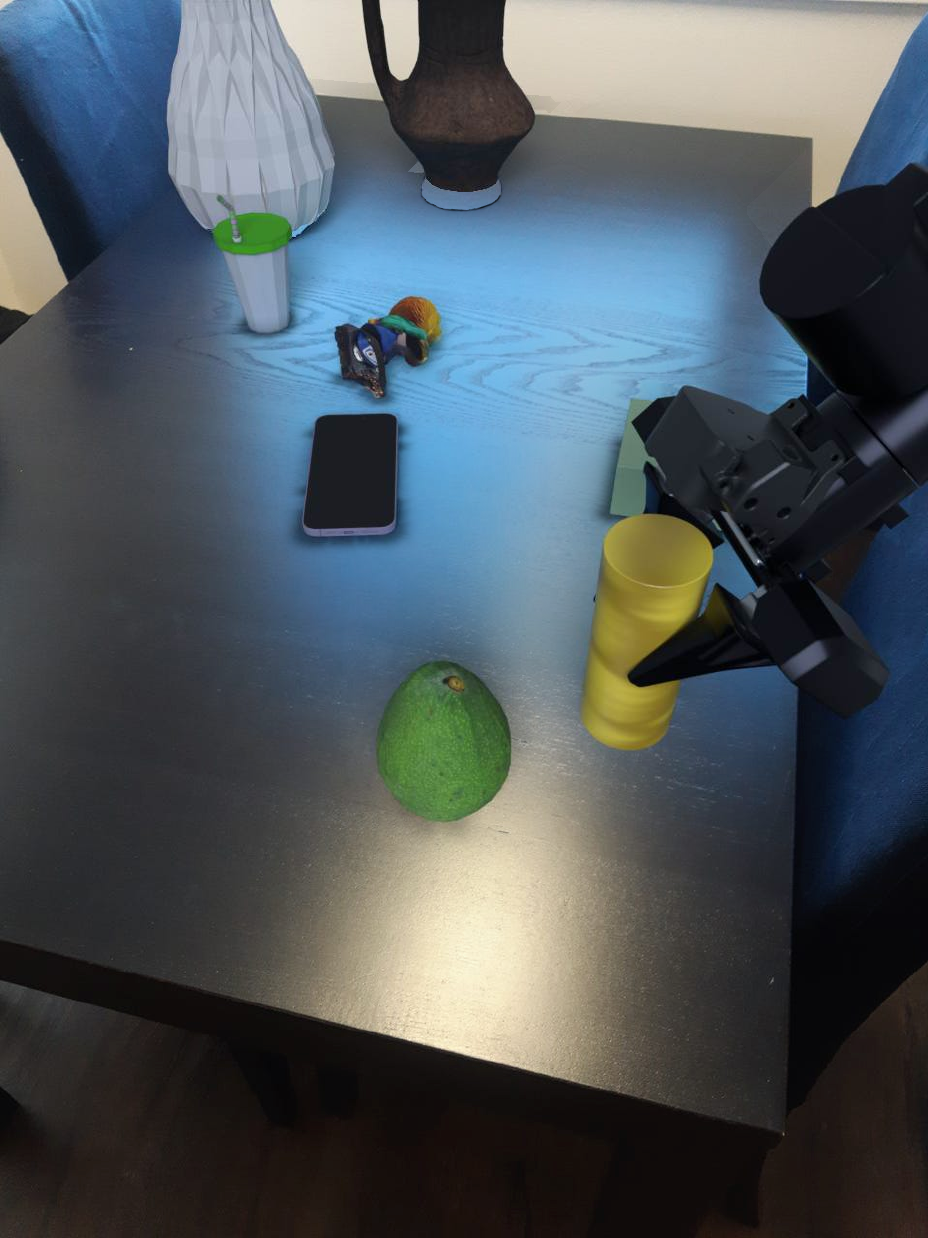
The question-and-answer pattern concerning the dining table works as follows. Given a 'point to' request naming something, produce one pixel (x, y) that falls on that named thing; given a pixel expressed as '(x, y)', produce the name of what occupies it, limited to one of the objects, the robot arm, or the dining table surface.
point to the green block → (632, 468)
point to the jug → (453, 92)
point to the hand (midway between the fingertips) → (614, 642)
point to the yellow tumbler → (640, 624)
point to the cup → (258, 265)
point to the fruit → (443, 743)
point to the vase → (244, 118)
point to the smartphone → (352, 476)
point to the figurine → (388, 342)
